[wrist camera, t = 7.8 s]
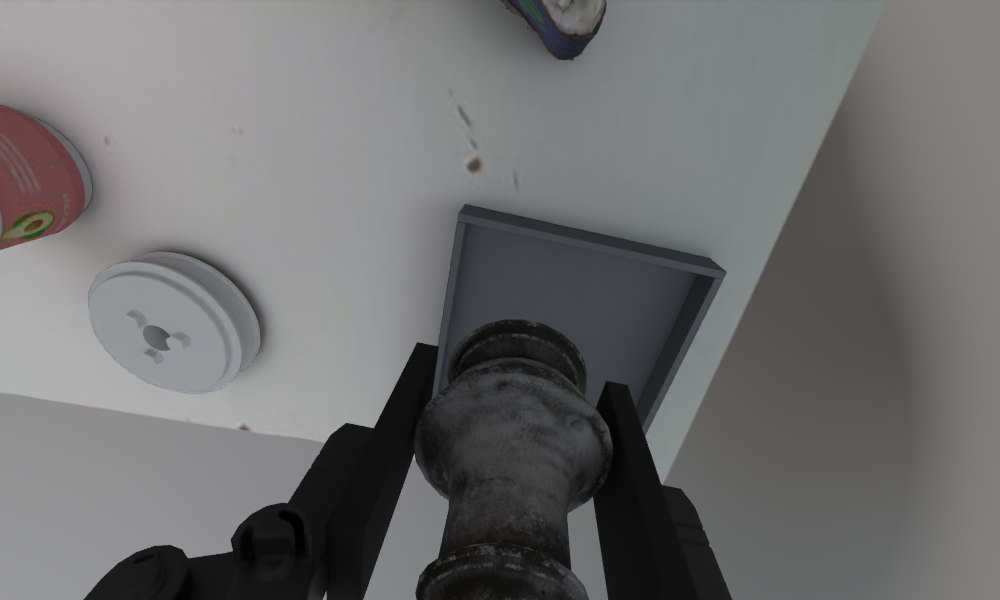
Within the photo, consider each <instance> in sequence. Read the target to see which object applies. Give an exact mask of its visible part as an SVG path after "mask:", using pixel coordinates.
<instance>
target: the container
mask: <svg viewBox="0 0 1000 600" xmlns="http://www.w3.org/2000/svg"><path fill="white" fill-rule="evenodd" d="M91 198H92V182H91V178H90V174H89V171H88V169H87V167H86V165H85V163H84V161H83V159H82V158H81V156H80V155H79V153H78V152H77V150H76V149H75V148H74V147H73V145H72V144H71V143H70V142H69V141H68V140H67V139H66V138H65V137H64V136H63V135H62V134H61V133H59V132H58V131H57V130H55V129H54V128H53V127H51V126H50V125H48V124H46V123H44V122H42V121H41V120H38V119H36V118H33V117H30V116H27V115H25V114H24V113H22V112H20V111H17V110H14V109H11V108H9V107H6V106H3V105H0V250H1V249H5V248H8V247H11V246H15V245H18V244H21V243H25V242H28V241H31V240H35V239H38V238H41V237H45V236H48V235H51V234H55V233H58V232H60V231H61V230H63V229H65V228H66V227H67V226H69V225H70V224H71V223H72V222H74V221H75V220H76V219H77V218H78V217H79V215H80V214H81V213H82V211H83V210H85V209H86V207H87V206H88V205H89V203H90V200H91Z"/></svg>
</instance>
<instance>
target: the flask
mask: <svg viewBox="0 0 1000 600" xmlns="http://www.w3.org/2000/svg"><path fill="white" fill-rule="evenodd" d="M500 1H501V2H502V3H504V4H505V6H506V9H509V10H510V11H511V12H512V13H513V14H516V15H517V14H518V16H521V17H524V19H525V20H526V22H527V23H528V28H527V29H529V28H530V29H531V30H534V31H536V33H537V34H538V35H539V36H540V39H541V44H542V43H543V44H544V45H545V46H546V48H547V49H548V51H549V52H551V53H552V54H553V56H554V57H555V58H556V59H560V60H568V59H570V60H572V61H573V59H574V57H576V56H579V55H580V54H581V53H582V51H583V50H584V48H585V47H586V46H587V44H588V43H589V42H590V40H592V38H593V37H594V35H596V34H597V32H598V30H599V28H600V25H601V23H602V20H603V16H604V14H605V12H606V5H607V4H606V0H500Z"/></svg>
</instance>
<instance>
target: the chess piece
mask: <svg viewBox="0 0 1000 600" xmlns="http://www.w3.org/2000/svg"><path fill="white" fill-rule="evenodd" d="M446 376H447V384H448V386H447V387H446V388H445V389H443V390H442V391H441V392H440V393H439V394H438V395H437V396H435V397H434V398H433V399H432V400H431V401H430V402H429V403H428V404H427V405H426V407H425V408H424V410H423V412H422V414H421V415H420V417H419V419H418V421H417V423H416V426H415V432H414V438H413V447H414V453H415V458H416V462H417V464H418V466H419V468H420V470H421V471H422V473H423V475H424V477H425V479H426V480H427V481H428V482H429V483H430V484H431V486H432V487H433V488H435V490H436V491H437V492H438V493H439V494H440V495H441V496H443V497H444V498H446V499H447V500H449V510H448V515H447V519H446V524H445V529H444V533H443V538H442V543H441V547H440V552H439V556H438V559H436V560H435V561H434V562H432V563H430V564H429V565H428V566H427V567H426V569H425V570H424V571H423V572H422V574H421V575H420V576H419V581H418V585H417V589H416V593H415V594H416V598H417V600H589V598H588V596H587V593H586V590H585V587H584V585H583V584H582V583H581V582H580V581H579V579H577V577H576V576H575V575H574V573H573V572H572V571H571V562H570V549H569V536H568V523H567V514H568V513H569V512H571V511H572V510H574V509H576V508H578V507H579V506H581V505H583V504H584V503H586V502H587V501H588V500H590V499H591V498H592V497H593V496H594V495H595V494H596V493H597V492H598V491H599V489H600V488H601V487H602V486H603V484H604V482H605V480H606V478H607V476H608V474H609V472H610V470H611V466H612V461H613V453H614V448H613V444H612V440H611V436H610V432H609V428H608V426H607V424H606V423H605V421H604V420H603V418H602V417H601V415H600V414H599V412H598V411H597V409H596V408H595V407H594V406H593V405H592V404H590V403H589V402H588V401H587V399H586V398H585V396H586V393H587V388H588V373H587V369H586V365H585V361H584V358H583V357H582V355H581V354H580V352H579V351H578V349H577V347H576V346H575V344H573V343H572V342H571V341H570V340H569V339H568V338H567V337H565V336H564V335H563V334H562V333H561V332H559V331H557V330H555V329H553V328H551V327H549V326H547V325H545V324H542V323H537V322H533V321H529V320H522V319H505V320H500V321H496V322H492V323H488V324H485V325H483V326H481V327H479V328H477V329H475V330H473V331H471V332H470V333H469V334H468V335H466V336H465V337H464V338H463V339H462V340H461V341H460V342H459V343H458V344H457V346H456V348H455V349H454V351H453V353H452V355H451V356H450V358H449V363H448V368H447V373H446Z"/></svg>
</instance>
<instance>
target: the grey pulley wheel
mask: <svg viewBox="0 0 1000 600" xmlns="http://www.w3.org/2000/svg"><path fill="white" fill-rule="evenodd" d="M88 308H89V316H90V321H91V325H92V328H93V330H94V332H95V335H96V336H97V338H98V340H99V341H100V343H101V345H102V346H103V347H104V349H105V350H106V351H107V352H108V353H109V355H110V356H111V357H112V358H113V359H114V360H115V361H116V362H117V363H119V364H120V365H121V366H122V367H123V368H125V369H126V370H127V371H129V372H130V373H131V374H133V375H135V376H136V377H138V378H139V379H141V380H143V381H145V382H147V383H149V384H152V385H154V386H157V387H160V388H163V389H167V390H172V391H177V392H182V393H190V394H203V393H209V392H213V391H216V390H219V389H221V388H223V387H225V386H226V385H227V384H229V383H230V382H231V381H232V380H233V379H234V378H235V377H236V376H237V374H238V373H239V372H241V371H243V370H244V369H246V368H247V367H248V366H249V365H250V364H251V363H252V362H253V360H254V359H255V357H256V356H257V353H258V351H259V347H260V328H259V324H258V321H257V317H256V315H255V313H254V311H253V309H252V307H251V305H250V304H249V302H248V300H247V299H246V297H245V296H244V295H243V294H242V292H241V291H240V290H239V289H238V288H237V287H236V286H235V285H234V283H233V282H231V281H230V280H229V279H228V278H227V277H226V276H224V275H223V274H222V273H220V272H219V271H218V270H216V269H215V268H213V267H211V266H210V265H208V264H206V263H204V262H202V261H200V260H198V259H196V258H193V257H190V256H187V255H184V254H180V253H175V252H165V251H160V252H151V253H146V254H143V255H140V256H138V257H136V258H134V259H132V260H131V261H127V262H122V263H118V264H115V265H113V266H110V267H108V268H106V269H105V270H103V271H102V272H101V273H100V274H98V275H97V276H96V278H95V279H94V281H93V282H92V284H91V287H90V290H89V295H88Z"/></svg>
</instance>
